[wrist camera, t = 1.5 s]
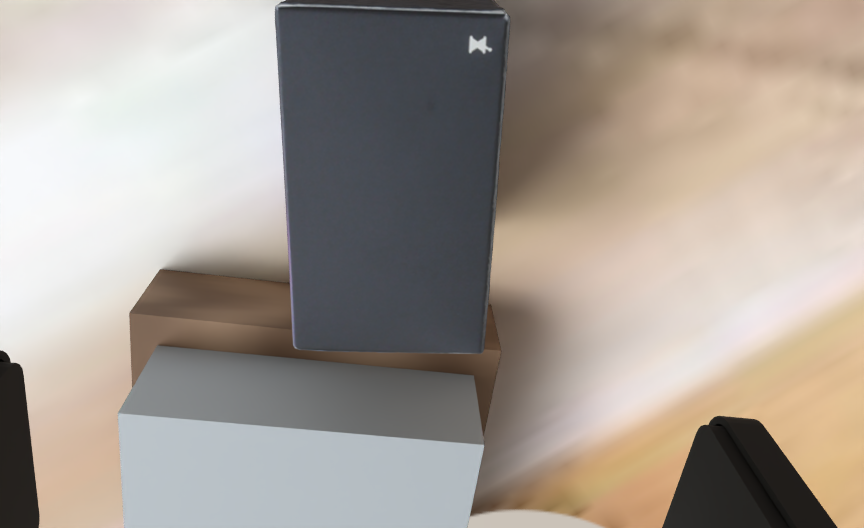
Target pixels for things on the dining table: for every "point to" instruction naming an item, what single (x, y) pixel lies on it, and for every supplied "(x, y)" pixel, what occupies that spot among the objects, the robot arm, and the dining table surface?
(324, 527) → the tower top
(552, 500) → the dining table surface
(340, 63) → the small box
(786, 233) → the dining table surface
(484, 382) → the tower base
